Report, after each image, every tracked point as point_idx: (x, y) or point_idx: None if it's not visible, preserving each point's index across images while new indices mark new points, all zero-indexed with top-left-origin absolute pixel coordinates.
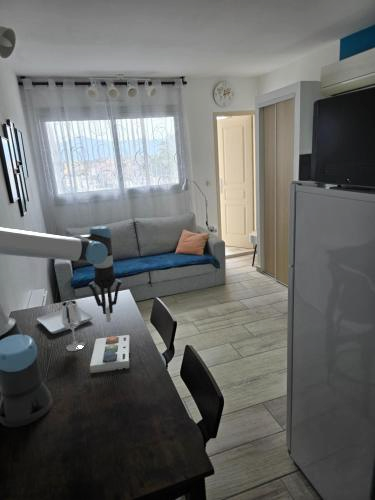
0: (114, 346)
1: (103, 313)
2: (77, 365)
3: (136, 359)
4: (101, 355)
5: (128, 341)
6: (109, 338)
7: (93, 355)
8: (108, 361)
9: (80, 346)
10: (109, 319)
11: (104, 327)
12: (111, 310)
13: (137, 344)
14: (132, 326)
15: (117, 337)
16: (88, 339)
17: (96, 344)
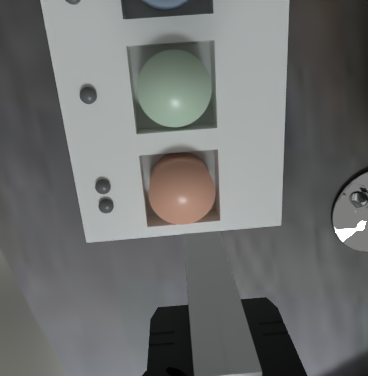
0: (151, 94)
1: (270, 304)
2: (358, 15)
3: (14, 17)
4: (228, 15)
5: (75, 165)
6: (199, 201)
7: (280, 26)
8: None
9: (353, 199)
10: (191, 247)
11: None
12: (163, 338)
13: (44, 184)
14: (106, 355)
15: (155, 225)
16: (315, 266)
17: (273, 161)
